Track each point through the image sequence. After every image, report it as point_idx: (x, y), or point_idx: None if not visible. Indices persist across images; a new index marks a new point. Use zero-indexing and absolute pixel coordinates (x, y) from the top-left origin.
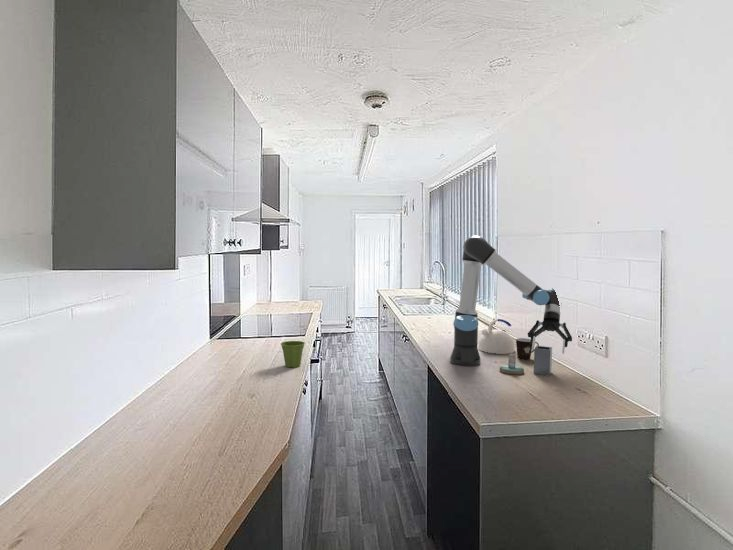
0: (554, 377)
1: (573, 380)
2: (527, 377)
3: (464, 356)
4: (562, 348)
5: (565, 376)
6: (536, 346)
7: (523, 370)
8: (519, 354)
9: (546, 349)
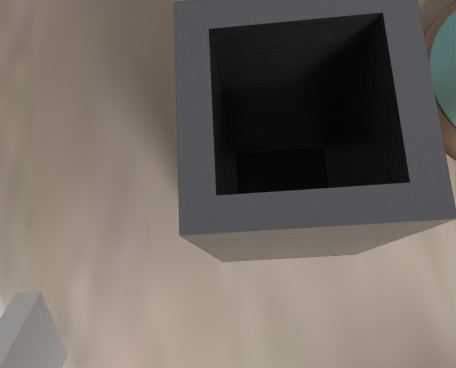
0: None
1: (47, 121)
2: None
3: None
4: (23, 322)
5: (105, 198)
6: (435, 143)
7: None
8: None
9: (236, 21)
